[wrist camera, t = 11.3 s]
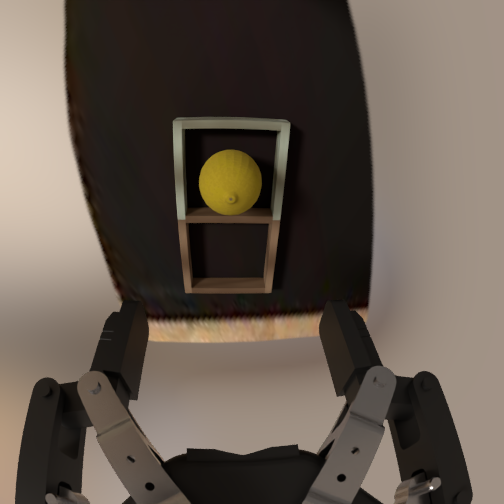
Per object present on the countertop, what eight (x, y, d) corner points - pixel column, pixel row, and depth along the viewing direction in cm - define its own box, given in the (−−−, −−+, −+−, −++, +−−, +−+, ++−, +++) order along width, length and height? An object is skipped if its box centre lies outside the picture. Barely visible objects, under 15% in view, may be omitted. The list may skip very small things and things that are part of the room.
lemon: (268, 163, 28) (281, 194, 22) (234, 201, 30) (236, 242, 24) (225, 130, 26) (224, 150, 19) (192, 172, 28) (180, 206, 22)
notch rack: (176, 117, 25) (172, 121, 23) (286, 119, 26) (290, 123, 24) (187, 282, 36) (185, 292, 35) (269, 282, 37) (271, 292, 36)
